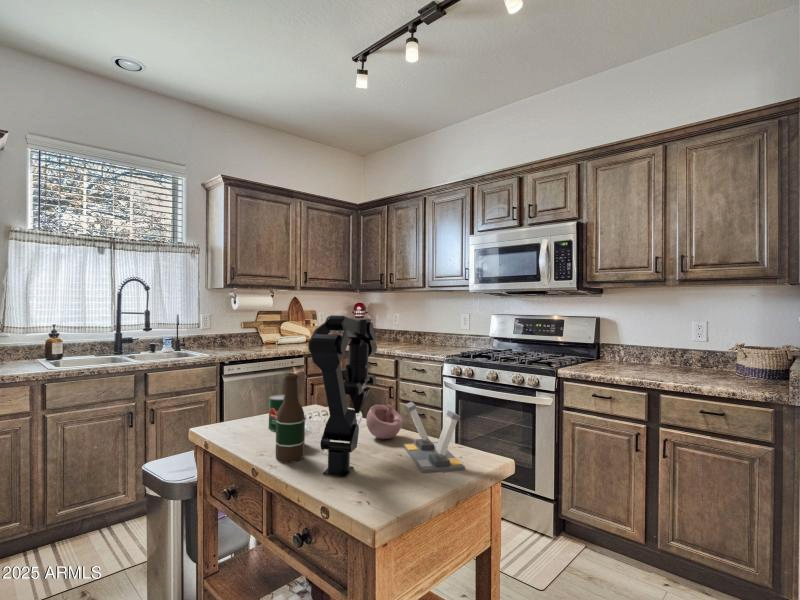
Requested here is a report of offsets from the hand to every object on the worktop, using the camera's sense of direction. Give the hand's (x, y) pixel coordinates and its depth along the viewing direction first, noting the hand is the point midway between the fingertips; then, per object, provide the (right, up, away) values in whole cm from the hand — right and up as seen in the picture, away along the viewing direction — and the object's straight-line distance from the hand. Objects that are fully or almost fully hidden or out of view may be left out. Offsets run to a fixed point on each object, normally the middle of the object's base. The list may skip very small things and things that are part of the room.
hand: (357, 413), depth 133 cm
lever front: (+24, -9, -8) cm, 27 cm away
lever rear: (+20, -9, +5) cm, 23 cm away
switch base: (+22, -13, -2) cm, 25 cm away
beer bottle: (-19, -12, -5) cm, 23 cm away
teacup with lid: (-22, -12, +7) cm, 26 cm away
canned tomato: (-29, -12, +25) cm, 40 cm away
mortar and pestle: (+7, -13, +16) cm, 21 cm away
